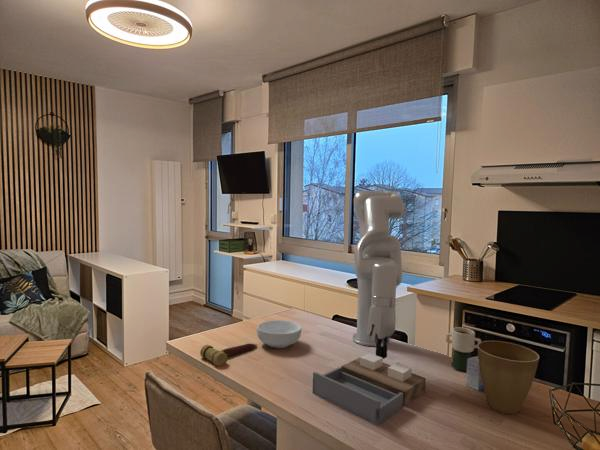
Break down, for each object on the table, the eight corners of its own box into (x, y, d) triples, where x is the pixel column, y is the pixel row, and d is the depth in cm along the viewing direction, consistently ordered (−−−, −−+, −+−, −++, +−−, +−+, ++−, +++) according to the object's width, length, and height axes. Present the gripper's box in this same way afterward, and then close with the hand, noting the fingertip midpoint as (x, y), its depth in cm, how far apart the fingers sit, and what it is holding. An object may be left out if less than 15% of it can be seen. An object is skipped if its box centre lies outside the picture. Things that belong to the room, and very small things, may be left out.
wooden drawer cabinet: (363, 367, 130) (363, 355, 129) (425, 391, 114) (425, 378, 114) (340, 378, 121) (341, 366, 121) (404, 406, 106) (405, 391, 105)
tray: (338, 379, 120) (339, 360, 120) (402, 407, 105) (403, 386, 105) (312, 392, 112) (313, 372, 111) (377, 425, 96) (378, 401, 96)
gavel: (248, 335, 149) (265, 342, 142) (248, 347, 149) (264, 355, 142) (200, 345, 134) (216, 354, 127) (199, 359, 134) (215, 368, 127)
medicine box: (478, 391, 115) (479, 363, 114) (465, 385, 119) (467, 357, 118) (495, 386, 118) (497, 358, 118) (482, 380, 122) (484, 353, 122)
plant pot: (536, 428, 97) (540, 366, 95) (471, 411, 104) (474, 353, 103) (534, 402, 110) (538, 346, 108) (476, 388, 117) (479, 336, 116)
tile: (396, 370, 118) (396, 362, 118) (411, 376, 115) (411, 368, 115) (387, 375, 115) (388, 367, 115) (402, 381, 111) (403, 373, 111)
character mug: (480, 368, 131) (482, 330, 130) (478, 376, 125) (480, 336, 124) (446, 361, 136) (448, 324, 136) (442, 368, 130) (444, 330, 129)
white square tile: (369, 360, 125) (369, 353, 125) (382, 365, 122) (382, 357, 122) (359, 365, 122) (360, 357, 122) (373, 370, 118) (373, 362, 118)
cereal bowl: (309, 342, 151) (309, 324, 150) (284, 356, 137) (285, 337, 136) (273, 333, 160) (274, 316, 159) (247, 346, 146) (247, 327, 145)
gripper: (385, 295, 132) (383, 347, 134) (360, 302, 122) (358, 359, 123) (405, 299, 127) (403, 354, 128) (380, 307, 116) (378, 367, 118)
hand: (381, 356), depth 126 cm, fingers closed
